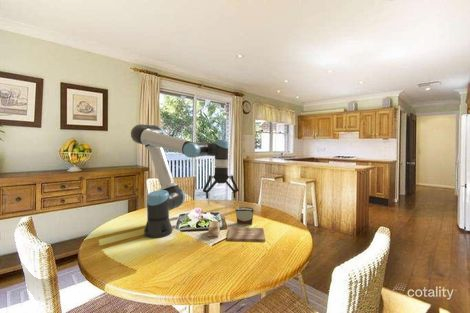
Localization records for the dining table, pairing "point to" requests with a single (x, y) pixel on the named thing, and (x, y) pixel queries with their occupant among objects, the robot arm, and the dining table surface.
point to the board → (246, 234)
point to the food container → (244, 215)
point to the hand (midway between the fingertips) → (220, 203)
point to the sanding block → (214, 229)
